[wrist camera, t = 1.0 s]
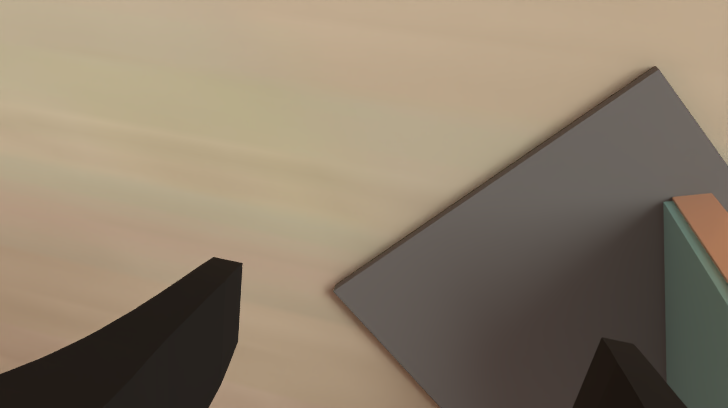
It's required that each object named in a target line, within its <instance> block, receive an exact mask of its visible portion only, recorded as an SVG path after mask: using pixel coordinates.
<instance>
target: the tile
mask: <svg viewBox="0 0 728 408" xmlns="http://www.w3.org/2000/svg"><path fill="white" fill-rule="evenodd" d="M663 211H664V267H665V323H666V379H667V384H668V385H669V386H670V387H671V389H672V390H673V391H674V392H675V393H676V395H677V396H678V397H679V398H680V399H681V401H682V402H683V403H684V404H685V405H686V407H687V408H728V212H727V211H726V210H725V209H724V207H723V206H722V205H721V204H720V203H719V201H718V200H717V199H716V198H715V196H714V195H713V194H712V193H707V194H697V195H687V196H677V197H672V201H666V202H663Z"/></svg>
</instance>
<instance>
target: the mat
mask: <svg viewBox="0 0 728 408" xmlns="http://www.w3.org/2000/svg"><path fill="white" fill-rule="evenodd" d="M707 193H712V194H713V195H714V196H715V198H716V199H717V200H718V201H719V203H720V204H721V205H722V206H723V207H724V209H725V210H726V211H727V212H728V165H727V164H726V163H725V161H724V160H723V158H722V157H721V156H720V154H719V153H718V151H717V150H716V149H715V147H714V146H713V144H712V143H711V142H710V140H709V139H708V137H707V136H706V135H705V133H704V132H703V130H702V129H701V128H700V126H699V125H698V123H697V122H696V121H695V119H694V118H693V116H692V115H691V114H690V112H689V111H688V109H687V108H686V107H685V105H684V104H683V102H682V101H681V100H680V98H679V97H678V95H677V94H676V93H675V91H674V90H673V88H672V87H671V86H670V84H669V83H668V81H667V80H666V79H665V77H664V76H663V74H662V73H661V71H660V70H659V69H658V68H657V67H656V66H655V67H653V68H652V69H650V70H649V71H647V72H646V73H644V74H643V75H641V76H640V77H638V78H637V79H636V80H634V81H633V82H631V83H630V84H628V85H627V86H625V87H624V88H622V89H621V90H620V91H618V92H617V93H615V94H614V95H612V96H611V97H609V98H608V99H606V100H605V101H603V102H602V103H601V104H599V105H598V106H596V107H595V108H593V109H592V110H590V111H589V112H587V113H586V114H584V115H583V116H582V117H580V118H579V119H577V120H576V121H574V122H573V123H571V124H570V125H568V126H567V127H566V128H564V129H563V130H561V131H560V132H558V133H557V134H555V135H554V136H552V137H551V138H549V139H548V140H547V141H545V142H544V143H542V144H541V145H539V146H538V147H536V148H535V149H533V150H532V151H531V152H529V153H528V154H526V155H525V156H523V157H522V158H520V159H519V160H517V161H516V162H514V163H513V164H512V165H510V166H509V167H507V168H506V169H504V170H503V171H501V172H500V173H498V174H497V175H496V176H494V177H493V178H491V179H490V180H488V181H487V182H485V183H484V184H482V185H481V186H479V187H478V188H477V189H475V190H474V191H472V192H471V193H469V194H468V195H466V196H465V197H463V198H462V199H460V200H459V201H458V202H456V203H455V204H453V205H452V206H450V207H449V208H447V209H446V210H444V211H443V212H442V213H440V214H439V215H437V216H436V217H434V218H433V219H431V220H430V221H428V222H427V223H425V224H424V225H423V226H421V227H420V228H418V229H417V230H415V231H414V232H412V233H411V234H409V235H408V236H407V237H405V238H404V239H402V240H401V241H399V242H398V243H396V244H395V245H393V246H392V247H390V248H389V249H388V250H386V251H385V252H383V253H382V254H380V255H379V256H377V257H376V258H374V259H373V260H372V261H370V262H369V263H367V264H366V265H364V266H363V267H361V268H360V269H358V270H357V271H355V272H354V273H353V274H351V275H350V276H348V277H347V278H345V279H344V280H342V281H341V282H339V283H338V284H336V286H335V288H334V291H333V292H334V293H335V294H336V295H337V296H338V297H339V298H340V299H341V300H342V301H343V303H344V304H345V305H346V306H347V307H348V308H349V309H350V310H351V311H352V312H353V313H354V314H355V316H356V317H357V318H358V319H359V320H360V321H361V322H362V323H363V324H364V325H365V326H366V327H367V329H368V330H369V331H370V332H371V333H372V334H373V335H374V336H375V337H376V338H377V339H378V340H379V341H380V343H381V344H382V345H383V346H384V347H385V348H386V349H387V350H388V351H389V352H390V353H391V354H392V356H393V357H394V358H395V359H396V360H397V361H398V362H399V363H400V364H401V365H402V366H403V367H404V369H405V370H406V371H407V372H408V373H409V374H410V375H411V376H412V377H413V378H414V379H415V380H416V382H417V383H418V384H419V385H420V386H421V387H422V388H423V389H424V390H425V391H426V392H427V393H428V394H429V396H430V397H431V398H432V399H433V400H434V401H435V402H436V403H437V404H438V405H439V406H440V407H441V408H573V405H574V403H575V400H576V398H577V396H578V393H579V391H580V388H581V386H582V383H583V381H584V379H585V376H586V374H587V371H588V369H589V367H590V364H591V362H592V359H593V357H594V354H595V352H596V350H597V347H598V345H599V342H600V340H601V338H602V337H603V338H608V339H613V340H618V341H622V342H627V343H632V344H634V345H635V346H636V347H637V348H638V349H639V350H640V352H641V353H642V354H643V355H644V356H645V357H646V359H647V360H648V361H649V362H650V363H651V364H652V366H653V367H654V368H655V369H656V371H657V372H658V373H659V374H660V375H661V377H662V378H663V379H664V380H665V381H666V383H667V379H666V323H665V267H664V211H663V202H666V201H672V197H677V196H687V195H697V194H707Z"/></svg>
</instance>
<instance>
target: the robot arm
mask: <svg viewBox="0 0 728 408" xmlns="http://www.w3.org/2000/svg"><path fill="white" fill-rule="evenodd" d="M241 280H242V263H239V262H234V261H230V260H225V259H220V258H215V257H213V258H211V259H210V260H208V261H207V262H205V263H204V264H202V265H201V266H199V267H198V268H196V269H195V270H193V271H192V272H190V273H189V274H187V275H186V276H184V277H183V278H182V279H180V280H179V281H177V282H176V283H174V284H173V285H171V286H170V287H168V288H167V289H165V290H164V291H162V292H161V293H159V294H158V295H156V296H155V297H153V298H151V299H150V300H148V301H147V302H145V303H144V304H142V305H141V306H139V307H137V308H136V309H134V310H133V311H131V312H129V313H128V314H126V315H124V316H122V317H121V318H119V319H117V320H115V321H114V322H112V323H110V324H109V325H107V326H105V327H103V328H102V329H100V330H98V331H96V332H94V333H92V334H91V335H89V336H87V337H85V338H83V339H81V340H79V341H77V342H75V343H73V344H71V345H69V346H66V347H64V348H62V349H60V350H58V351H56V352H54V353H51V354H49V355H47V356H45V357H42V358H40V359H38V360H35V361H33V362H30V363H28V364H25V365H23V366H20V367H18V368H15V369H12V370H10V371H7V372H5V373H2V374H0V408H209V406H210V404H211V402H212V400H213V398H214V397H215V395H216V393H217V391H218V389H219V387H220V385H221V383H222V381H223V378H224V376H225V373H226V371H227V368H228V366H229V363H230V361H231V358H232V356H233V353H234V350H235V348H236V345H237V343H238V331H239V314H240V297H241ZM573 408H687V407H686V405H685V404H684V403H683V402H682V401H681V399H680V398H679V397H678V396H677V395H676V393H675V392H674V391H673V390H672V389H671V387H670V386H669V385H668V384H667V383H666V381H665V380H664V379H663V378H662V377H661V375H660V374H659V373H658V372H657V371H656V369H655V368H654V367H653V366H652V364H651V363H650V362H649V361H648V360H647V359H646V357H645V356H644V355H643V354H642V353H641V352H640V350H639V349H638V348H637V347H636V346H635V345H634V344H632V343H627V342H622V341H618V340H613V339H608V338H603V337H602V338H601V340H600V342H599V345H598V347H597V350H596V352H595V354H594V357H593V359H592V362H591V364H590V367H589V369H588V371H587V374H586V376H585V379H584V381H583V383H582V386H581V388H580V391H579V393H578V396H577V398H576V400H575V403H574V405H573Z"/></svg>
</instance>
